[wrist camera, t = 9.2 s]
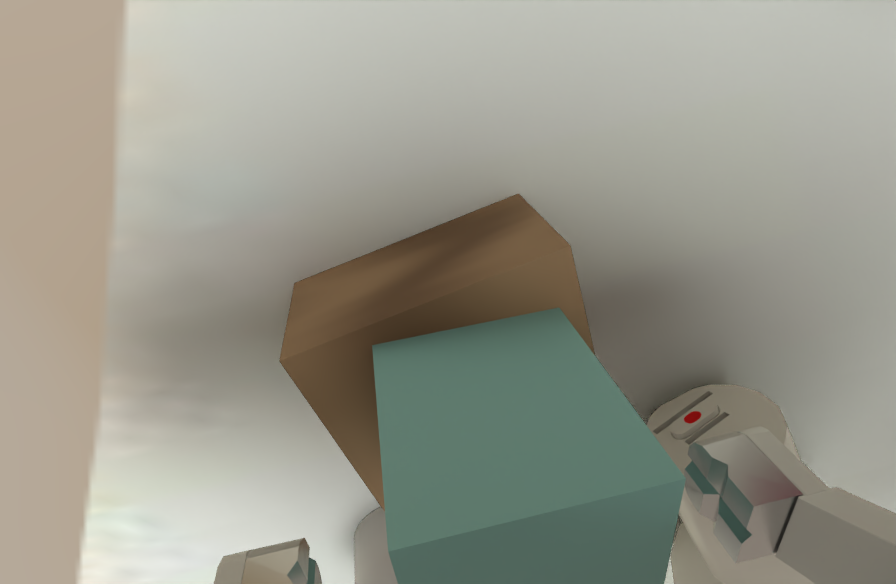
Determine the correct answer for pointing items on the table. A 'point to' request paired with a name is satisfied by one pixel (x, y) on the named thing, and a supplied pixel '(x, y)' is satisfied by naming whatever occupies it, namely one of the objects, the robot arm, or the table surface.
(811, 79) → the table surface
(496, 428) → the teal cube
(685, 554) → the spotlight
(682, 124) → the table surface
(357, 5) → the table surface
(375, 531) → the grey cylinder
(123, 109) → the table surface
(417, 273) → the brown square block
